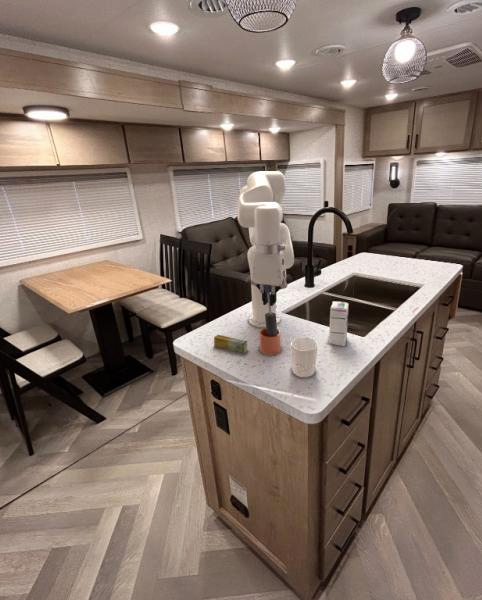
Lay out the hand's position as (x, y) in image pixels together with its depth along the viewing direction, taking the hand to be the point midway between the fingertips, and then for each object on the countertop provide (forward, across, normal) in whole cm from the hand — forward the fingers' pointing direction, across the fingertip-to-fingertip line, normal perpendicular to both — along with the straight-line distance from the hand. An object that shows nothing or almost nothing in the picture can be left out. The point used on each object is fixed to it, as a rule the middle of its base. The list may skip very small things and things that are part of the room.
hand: (269, 303), depth 104 cm
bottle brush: (+10, -1, +1) cm, 11 cm away
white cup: (+18, -14, +8) cm, 24 cm away
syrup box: (+18, -21, -13) cm, 30 cm away
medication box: (+18, +13, +4) cm, 22 cm away
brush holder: (+18, 0, 0) cm, 18 cm away
